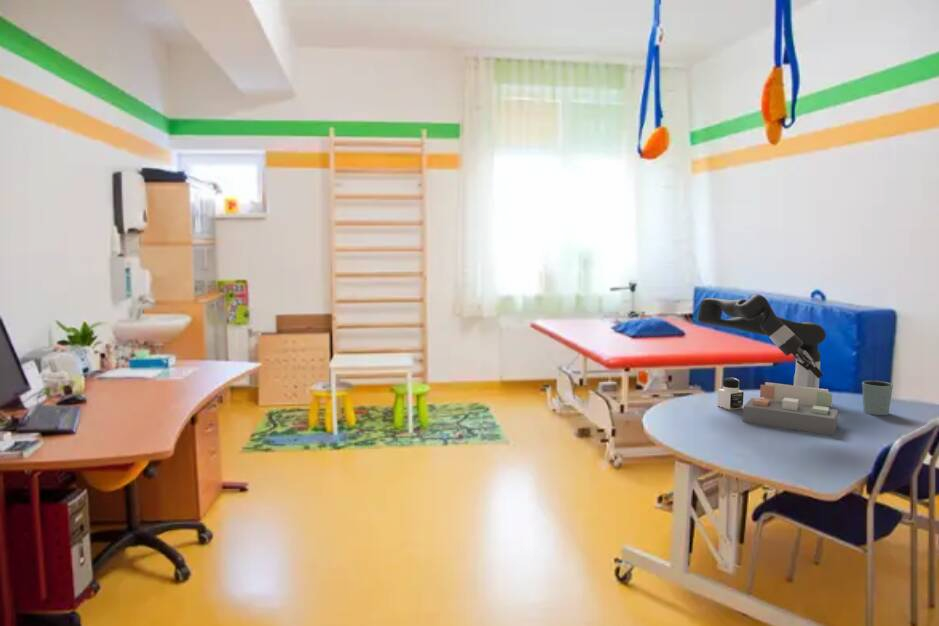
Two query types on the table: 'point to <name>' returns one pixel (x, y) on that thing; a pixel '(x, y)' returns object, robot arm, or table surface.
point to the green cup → (876, 397)
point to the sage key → (820, 410)
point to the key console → (793, 418)
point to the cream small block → (790, 404)
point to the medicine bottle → (730, 395)
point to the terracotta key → (761, 402)
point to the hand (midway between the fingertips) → (821, 376)
